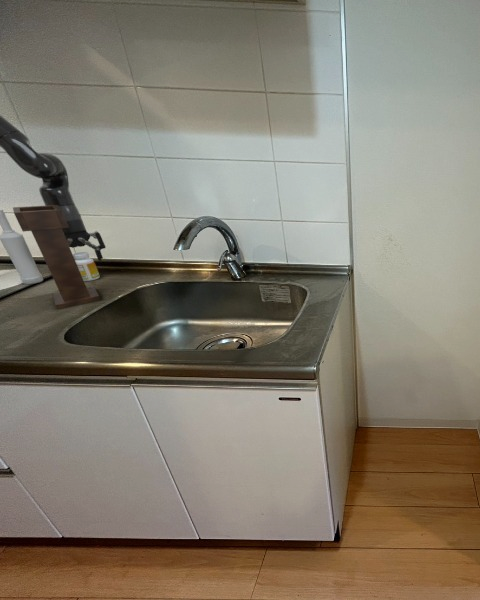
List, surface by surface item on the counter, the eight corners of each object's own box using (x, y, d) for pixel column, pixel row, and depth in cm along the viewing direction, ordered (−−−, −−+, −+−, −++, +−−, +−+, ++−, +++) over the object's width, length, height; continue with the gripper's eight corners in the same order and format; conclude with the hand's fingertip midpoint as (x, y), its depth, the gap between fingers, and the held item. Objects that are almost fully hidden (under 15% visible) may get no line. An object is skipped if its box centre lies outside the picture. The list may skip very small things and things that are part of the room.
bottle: (42, 277, 113) (8, 208, 102) (45, 281, 110) (11, 210, 99) (21, 281, 109) (-17, 209, 98) (24, 285, 106) (-14, 212, 95)
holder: (57, 309, 94) (10, 213, 81) (54, 298, 100) (10, 207, 87) (100, 299, 101) (64, 210, 88) (95, 290, 107) (60, 204, 94)
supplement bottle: (99, 274, 118) (90, 250, 114) (100, 279, 115) (91, 254, 111) (80, 277, 115) (69, 252, 110) (80, 282, 111) (70, 256, 107)
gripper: (91, 213, 112) (107, 256, 119) (34, 218, 102) (55, 264, 109) (95, 217, 108) (112, 261, 115) (35, 222, 98) (57, 269, 105)
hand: (84, 262), depth 112 cm, fingers open, 8 cm apart
